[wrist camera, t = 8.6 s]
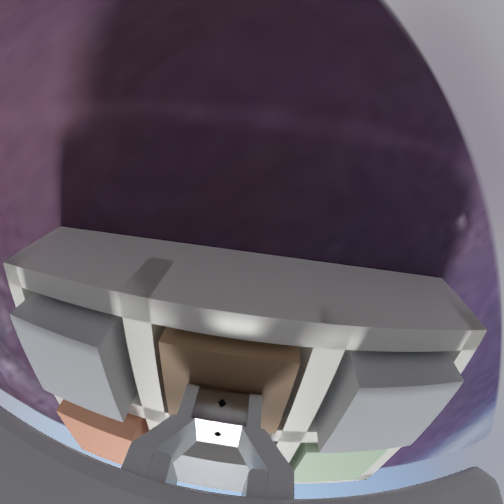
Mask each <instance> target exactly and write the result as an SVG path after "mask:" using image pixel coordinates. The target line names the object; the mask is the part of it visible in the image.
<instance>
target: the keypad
mask: <svg viewBox="0 0 504 504" xmlns="http://www.w3.org/2000/svg"><path fill="white" fill-rule="evenodd" d="M3 263H4V268H5V272H6V275H7V279H8V283H9V286H10V290H11V293H12V296H13V300H14V303H15V306H16V308H15V309H14V310H13V311H12V312H11V313H10V317H11V319H12V322H13V325H14V327H15V330H16V332H17V335H18V337H19V339H20V342H21V344H22V346H23V349H24V351H25V353H26V355H27V358H28V360H29V362H30V364H31V366H32V368H33V370H34V372H35V374H36V376H37V378H38V380H39V382H40V383H41V385H42V387H43V389H44V390H46V391H48V392H50V393H52V394H54V395H55V397H56V399H57V401H58V402H59V404H61V402H62V400H63V399H65V400H67V401H69V402H71V403H74V404H76V405H78V406H81V407H83V408H85V409H88V410H90V411H93V412H96V413H98V414H101V415H103V416H106V417H109V418H112V419H115V420H118V421H120V422H124V420H125V418H126V416H127V413H129V414H132V415H135V416H139V417H142V418H146V421H147V424H148V428H149V431H150V430H151V429H152V428H154V427H155V426H157V425H158V424H160V423H161V422H163V421H164V420H165V419H167V418H168V417H169V412H168V406H167V400H166V394H165V388H164V381H163V374H162V367H161V359H160V351H159V340H160V338H161V336H162V334H163V332H164V330H165V328H166V327H170V328H175V329H181V330H186V331H191V332H197V333H203V334H209V335H215V336H221V337H227V338H234V339H241V340H248V341H256V342H264V343H272V344H281V345H290V346H299V350H300V366H299V369H298V372H297V375H296V378H295V381H294V384H293V387H292V390H291V393H290V396H289V399H288V402H287V404H286V407H285V410H284V413H283V415H282V418H281V421H280V423H279V426H278V429H277V431H276V433H268V435H269V436H270V438H271V439H272V440H273V442H274V443H275V445H276V446H277V448H278V449H279V450H280V452H281V453H282V455H283V456H284V457H285V459H286V460H287V462H288V463H289V462H290V461H291V459H292V457H293V455H294V454H295V452H296V450H297V448H298V447H299V445H300V443H318V451H319V453H345V452H360V451H372V450H381V449H388V450H387V451H386V452H385V453H384V454H383V455H382V456H381V457H380V458H379V459H378V460H377V461H376V462H375V463H374V464H373V465H372V466H371V467H370V468H369V469H368V470H366V471H365V472H364V473H363V474H362V475H361V476H360V477H359V478H358V479H354V480H343V481H326V482H294V483H332V482H345V481H357V480H366V479H367V478H369V477H370V476H371V475H372V474H373V473H374V472H375V471H377V470H378V469H379V468H380V467H381V466H382V465H383V464H384V463H385V462H386V461H387V460H388V459H389V458H391V457H392V456H393V455H394V454H395V453H396V452H397V451H398V450H399V449H400V448H401V447H403V446H410V445H411V444H412V443H413V442H414V441H415V440H416V439H417V438H418V437H419V436H420V435H421V434H422V432H423V431H424V430H425V429H426V428H427V427H428V426H429V425H430V424H431V422H432V421H433V420H434V419H435V418H436V417H437V415H438V414H439V413H440V412H441V411H442V409H443V408H444V407H445V406H446V404H447V403H448V402H449V401H450V399H451V398H452V397H453V395H454V394H455V393H456V391H457V390H458V389H459V387H460V386H461V385H462V383H463V382H464V380H463V378H462V376H461V373H462V371H463V370H464V368H465V367H466V365H467V364H468V362H469V360H470V359H471V357H472V356H473V354H474V352H475V351H476V349H477V347H478V346H479V344H480V342H481V341H482V339H483V337H484V335H485V333H486V332H487V329H486V328H485V327H484V326H483V324H482V323H481V322H480V321H479V319H478V318H477V317H476V316H475V315H474V313H473V312H472V311H471V310H470V309H469V308H468V306H467V305H466V304H465V303H464V302H463V301H462V300H461V298H460V297H459V296H458V295H457V294H456V293H455V292H454V291H453V289H452V288H451V287H450V286H449V285H448V284H447V283H446V282H445V281H444V280H443V279H442V278H439V277H431V276H424V275H416V274H409V273H402V272H394V271H387V270H379V269H372V268H365V267H357V266H350V265H342V264H335V263H328V262H320V261H313V260H306V259H298V258H291V257H283V256H276V255H269V254H261V253H254V252H246V251H239V250H232V249H224V248H217V247H210V246H202V245H195V244H187V243H180V242H173V241H165V240H158V239H151V238H143V237H136V236H128V235H121V234H114V233H106V232H99V231H92V230H84V229H77V228H70V227H62V226H61V227H59V228H57V229H55V230H54V231H52V232H50V233H48V234H47V235H45V236H43V237H42V238H40V239H38V240H37V241H35V242H34V243H32V244H30V245H29V246H27V247H26V248H24V249H22V250H21V251H19V252H18V253H16V254H15V255H13V256H12V257H10V258H9V259H7V260H6V261H4V262H3ZM173 465H174V468H175V472H176V475H177V481H180V482H184V483H189V484H194V485H199V486H204V487H210V488H216V489H223V490H230V491H238V492H242V490H243V487H244V484H245V481H246V478H247V475H248V472H249V471H250V470H249V469H248V467H247V465H246V463H245V461H244V459H243V457H242V455H241V454H240V452H239V450H238V447H231V446H225V445H220V444H213V443H207V442H201V441H196V442H195V443H194V444H193V445H192V446H191V447H190V448H189V449H188V450H187V451H186V452H185V453H183V454H182V455H181V456H180V457H179V458H178V459H177V460H176V461H174V462H173Z"/></svg>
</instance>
